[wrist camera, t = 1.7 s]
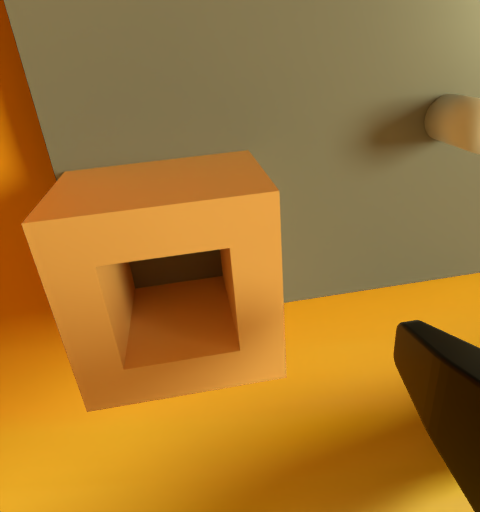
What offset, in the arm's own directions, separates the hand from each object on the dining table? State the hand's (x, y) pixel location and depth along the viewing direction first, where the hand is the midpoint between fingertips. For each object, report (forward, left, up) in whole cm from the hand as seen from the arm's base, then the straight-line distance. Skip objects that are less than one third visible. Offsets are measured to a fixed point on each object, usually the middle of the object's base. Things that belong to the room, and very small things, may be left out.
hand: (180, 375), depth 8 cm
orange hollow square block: (0, 0, -6) cm, 6 cm away
